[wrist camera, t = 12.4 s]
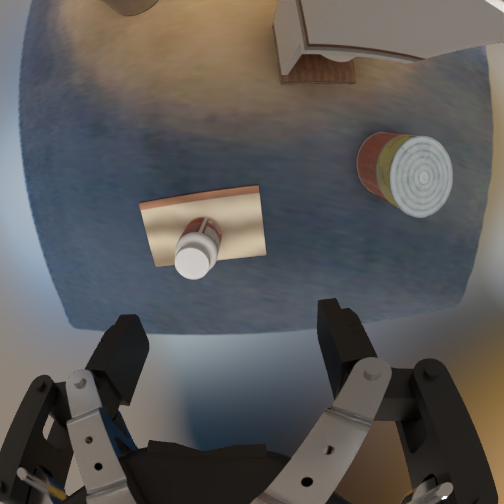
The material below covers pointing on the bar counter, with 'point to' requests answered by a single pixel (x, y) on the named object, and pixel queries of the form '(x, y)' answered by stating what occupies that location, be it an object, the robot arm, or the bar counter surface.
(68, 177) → the bar counter surface
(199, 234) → the pill bottle
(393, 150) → the canned food
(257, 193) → the board
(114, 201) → the bar counter surface
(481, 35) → the white square tower
